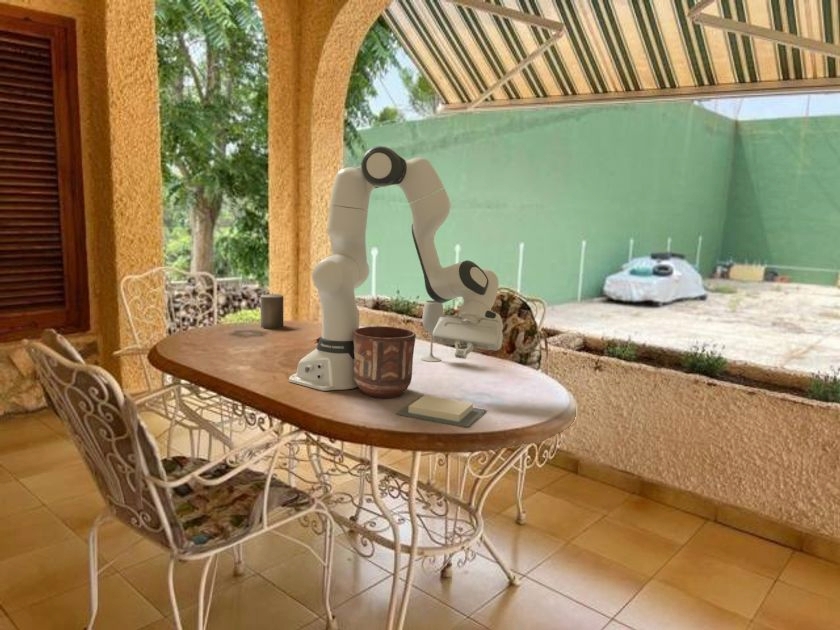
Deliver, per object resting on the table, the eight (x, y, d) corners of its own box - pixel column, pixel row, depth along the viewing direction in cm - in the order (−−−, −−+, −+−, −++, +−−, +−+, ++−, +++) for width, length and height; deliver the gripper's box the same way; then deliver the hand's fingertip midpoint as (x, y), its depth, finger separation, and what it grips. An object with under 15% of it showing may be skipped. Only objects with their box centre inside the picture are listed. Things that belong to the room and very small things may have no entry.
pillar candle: (286, 328, 268) (286, 293, 265) (264, 329, 263) (264, 294, 260) (278, 324, 276) (279, 290, 273) (257, 325, 271) (257, 291, 268)
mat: (395, 414, 163) (395, 412, 162) (418, 399, 176) (418, 398, 176) (468, 427, 155) (468, 426, 155) (486, 411, 169) (486, 409, 168)
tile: (424, 402, 173) (408, 413, 163) (424, 395, 172) (408, 406, 162) (472, 410, 167) (458, 422, 157) (473, 403, 167) (459, 415, 157)
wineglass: (422, 362, 219) (425, 303, 216) (418, 356, 227) (421, 299, 223) (443, 362, 221) (446, 303, 217) (438, 356, 228) (441, 300, 225)
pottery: (380, 380, 194) (382, 323, 191) (424, 392, 183) (427, 332, 180) (339, 391, 180) (340, 330, 177) (383, 405, 169) (386, 341, 166)
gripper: (438, 307, 184) (423, 346, 176) (505, 315, 176) (492, 355, 168) (442, 320, 188) (428, 358, 181) (508, 328, 180) (496, 368, 173)
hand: (460, 357), depth 175 cm, fingers closed
